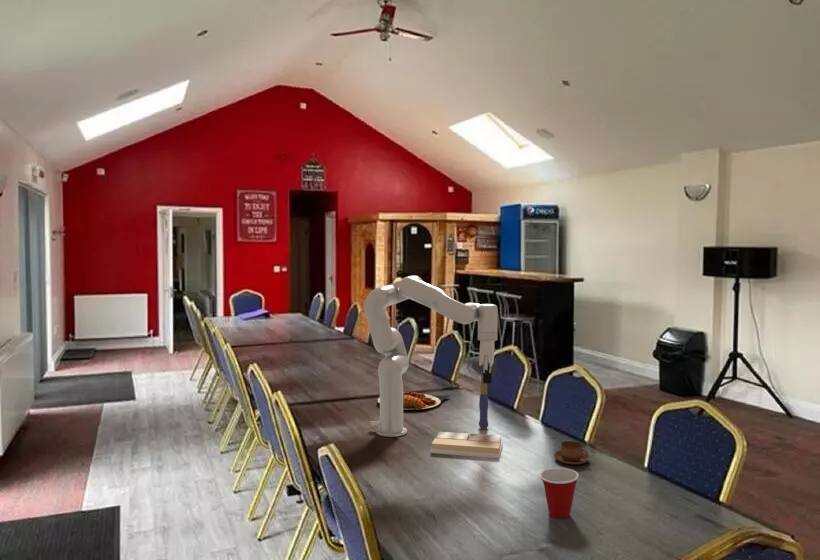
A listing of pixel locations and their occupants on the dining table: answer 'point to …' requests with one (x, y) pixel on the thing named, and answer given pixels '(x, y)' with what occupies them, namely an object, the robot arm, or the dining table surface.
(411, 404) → the omelette plate
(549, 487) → the plastic cup
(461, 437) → the left plank
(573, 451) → the cup and saucer
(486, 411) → the rubber mallet
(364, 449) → the dining table surface
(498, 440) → the right plank
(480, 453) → the floor board
